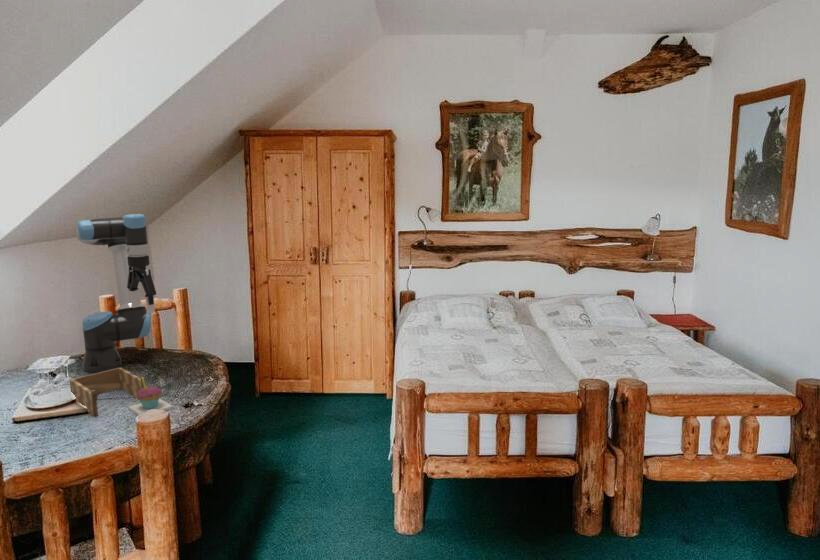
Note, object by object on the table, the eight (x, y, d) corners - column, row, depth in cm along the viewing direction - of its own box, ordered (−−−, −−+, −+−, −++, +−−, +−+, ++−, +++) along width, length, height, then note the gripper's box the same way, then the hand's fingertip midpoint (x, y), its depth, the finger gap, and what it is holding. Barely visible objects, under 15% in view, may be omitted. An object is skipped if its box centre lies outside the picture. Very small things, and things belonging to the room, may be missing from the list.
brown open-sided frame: (71, 399, 225) (69, 376, 223) (122, 386, 238) (120, 364, 237) (94, 416, 210) (91, 391, 208) (147, 401, 223) (145, 377, 221)
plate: (128, 409, 216) (128, 406, 216) (159, 400, 224) (158, 398, 224) (142, 418, 209) (141, 415, 209) (172, 408, 217) (172, 405, 216)
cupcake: (145, 413, 210) (142, 380, 208) (132, 407, 215) (129, 375, 213) (168, 405, 217) (165, 373, 215) (154, 399, 222) (151, 368, 220)
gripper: (114, 253, 235) (120, 306, 239) (142, 260, 218) (147, 317, 222) (134, 251, 240) (139, 303, 244) (162, 257, 223) (167, 313, 227)
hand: (143, 310), depth 233 cm, fingers open, 13 cm apart
